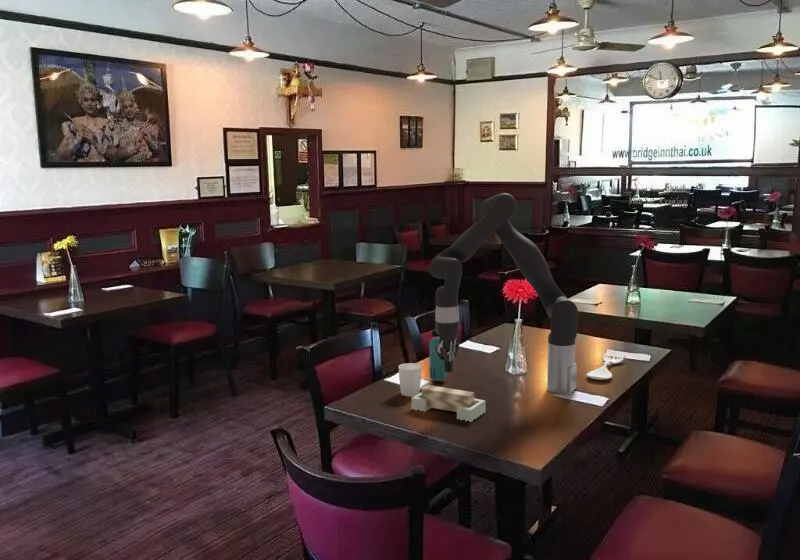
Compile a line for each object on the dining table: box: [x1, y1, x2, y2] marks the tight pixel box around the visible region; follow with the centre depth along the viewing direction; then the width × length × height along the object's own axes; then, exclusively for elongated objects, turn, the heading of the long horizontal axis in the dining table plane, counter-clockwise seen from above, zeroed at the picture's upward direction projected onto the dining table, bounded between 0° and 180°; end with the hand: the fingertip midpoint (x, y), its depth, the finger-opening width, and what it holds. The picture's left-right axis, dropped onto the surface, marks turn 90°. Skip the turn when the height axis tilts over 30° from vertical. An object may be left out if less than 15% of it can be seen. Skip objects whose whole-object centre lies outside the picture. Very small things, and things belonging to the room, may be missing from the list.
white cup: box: [398, 362, 422, 397], centre depth 234 cm, size 8×8×10 cm
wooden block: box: [421, 384, 475, 413], centre depth 217 cm, size 17×4×6 cm, turn 60°
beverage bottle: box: [428, 328, 448, 382], centre depth 245 cm, size 6×7×20 cm
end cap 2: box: [456, 397, 486, 423], centre depth 212 cm, size 5×10×4 cm, turn 146°
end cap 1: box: [411, 391, 432, 413], centre depth 222 cm, size 5×10×4 cm, turn 146°
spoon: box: [586, 352, 627, 381], centre depth 255 cm, size 9×32×4 cm, turn 150°
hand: (448, 371), depth 215 cm, fingers closed
